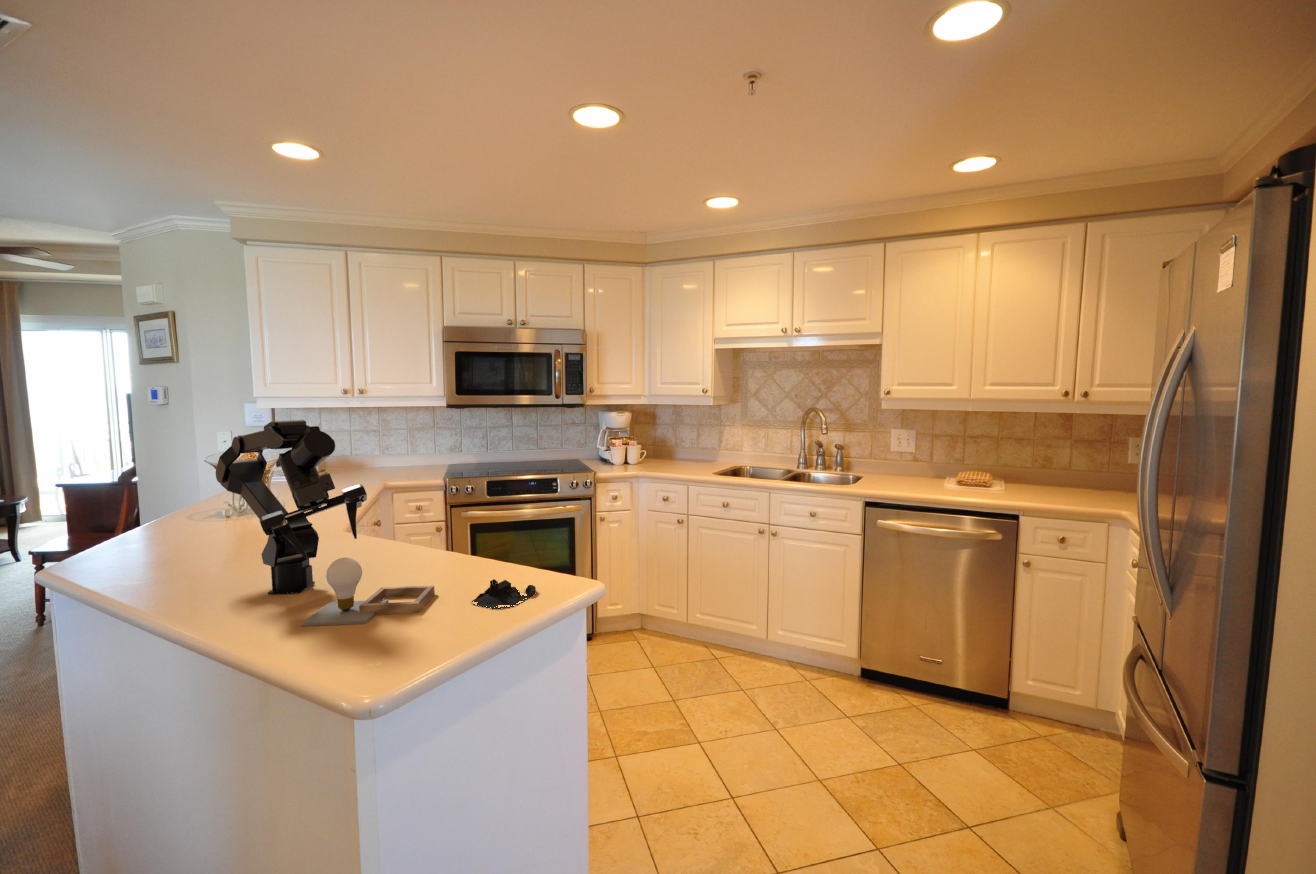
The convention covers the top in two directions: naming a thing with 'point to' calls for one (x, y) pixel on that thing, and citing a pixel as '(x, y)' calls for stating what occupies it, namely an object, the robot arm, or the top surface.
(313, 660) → the top surface
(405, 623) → the top surface
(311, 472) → the robot arm
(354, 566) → the light bulb
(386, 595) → the holder frame
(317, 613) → the coaster
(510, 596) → the black irregular lumpy piece
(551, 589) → the top surface
